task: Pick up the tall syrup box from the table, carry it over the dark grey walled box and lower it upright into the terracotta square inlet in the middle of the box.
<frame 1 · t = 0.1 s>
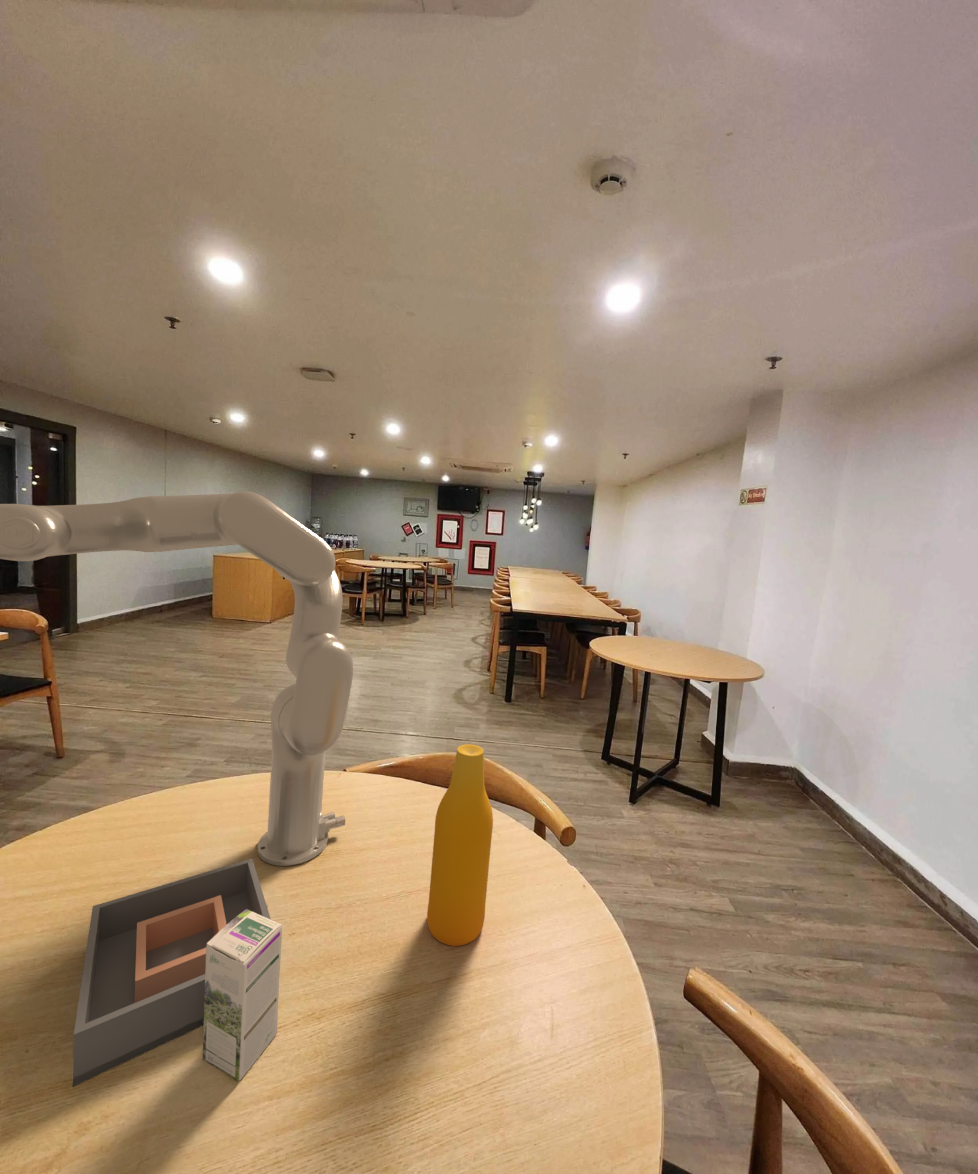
beer bottle: (455, 924, 73), on the table
walled box: (181, 967, 62), on the table
syrup box: (240, 1049, 53), on the table
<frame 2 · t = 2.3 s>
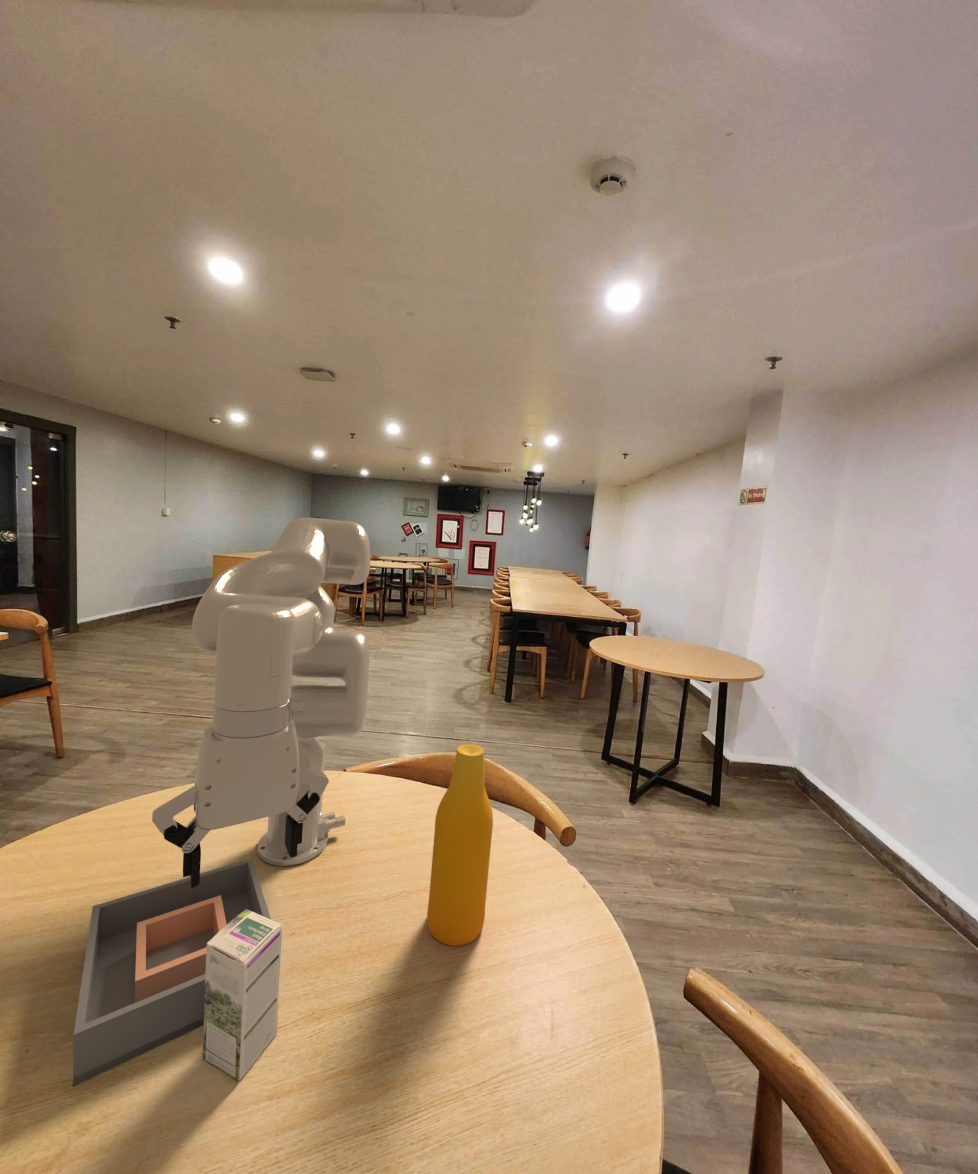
hand: (245, 864, 51), 23 cm above the table, tool pointing down, fingers open, 9 cm apart
nothing on the table moved.
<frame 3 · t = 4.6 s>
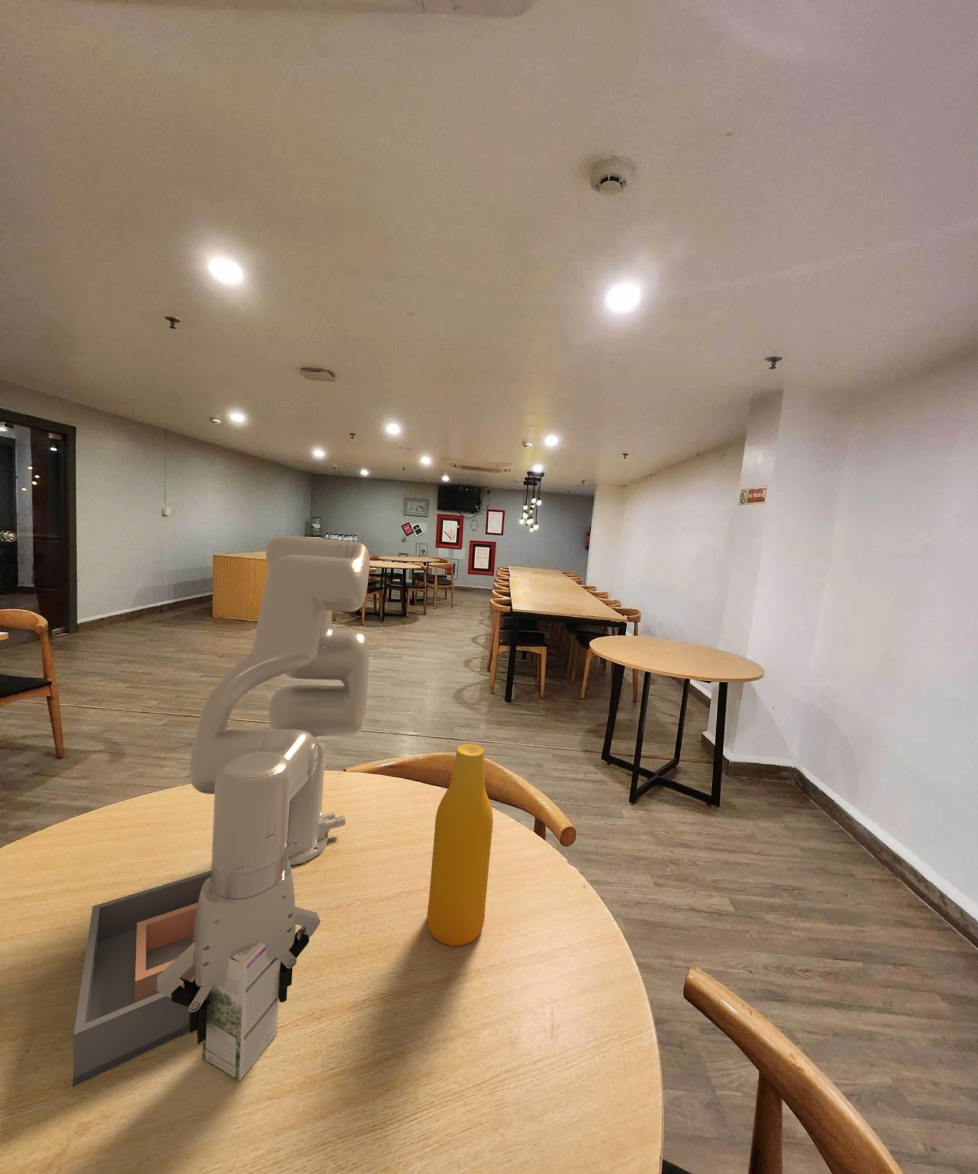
hand: (242, 1010, 52), 5 cm above the table, tool pointing down, fingers closed on syrup box, 7 cm apart
syrup box: (240, 1049, 53), on the table, touching gripper
everything else where it was.
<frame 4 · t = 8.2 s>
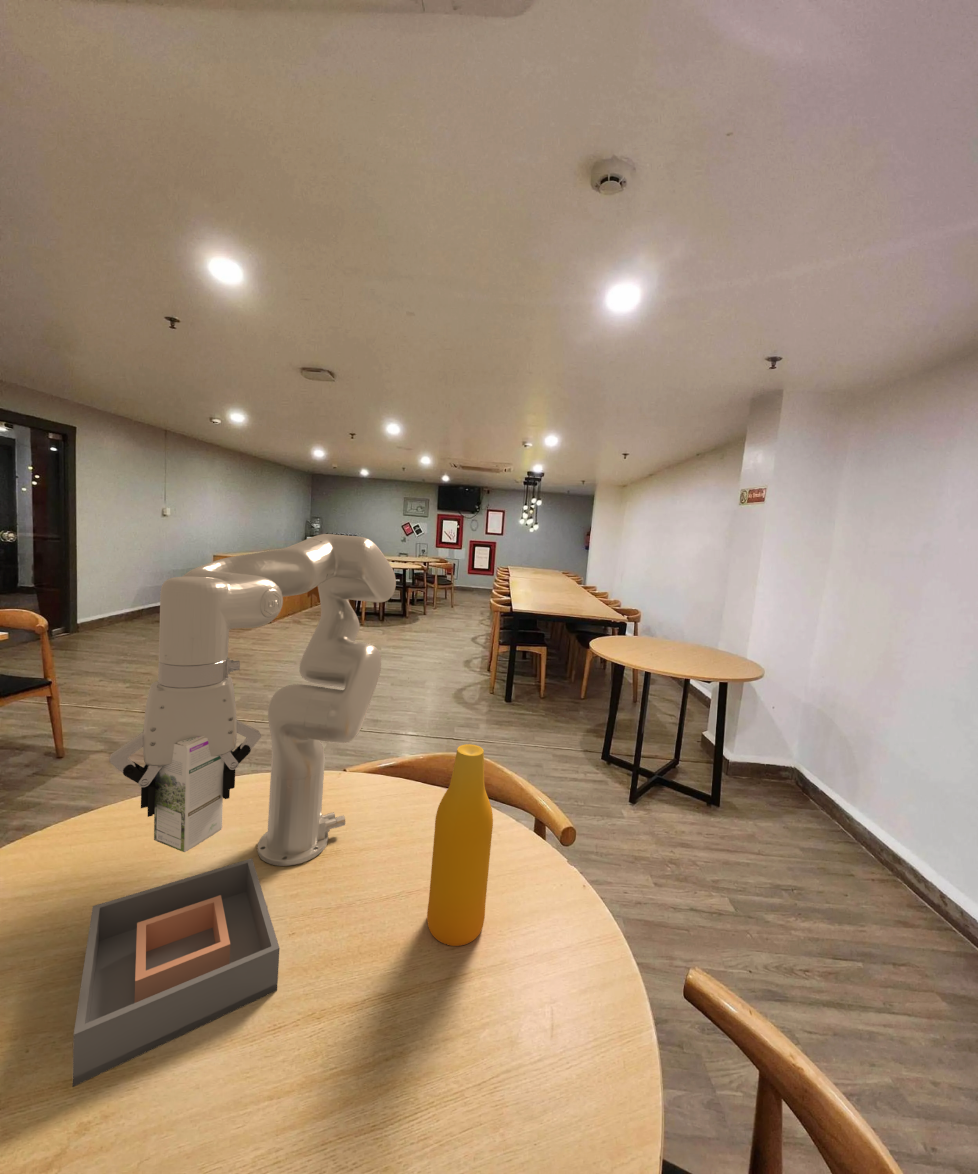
hand: (189, 801, 60), 24 cm above the table, tool pointing down, fingers closed on syrup box, 7 cm apart
syrup box: (188, 837, 60), point 19 cm above the table, touching gripper
everything else where it was.
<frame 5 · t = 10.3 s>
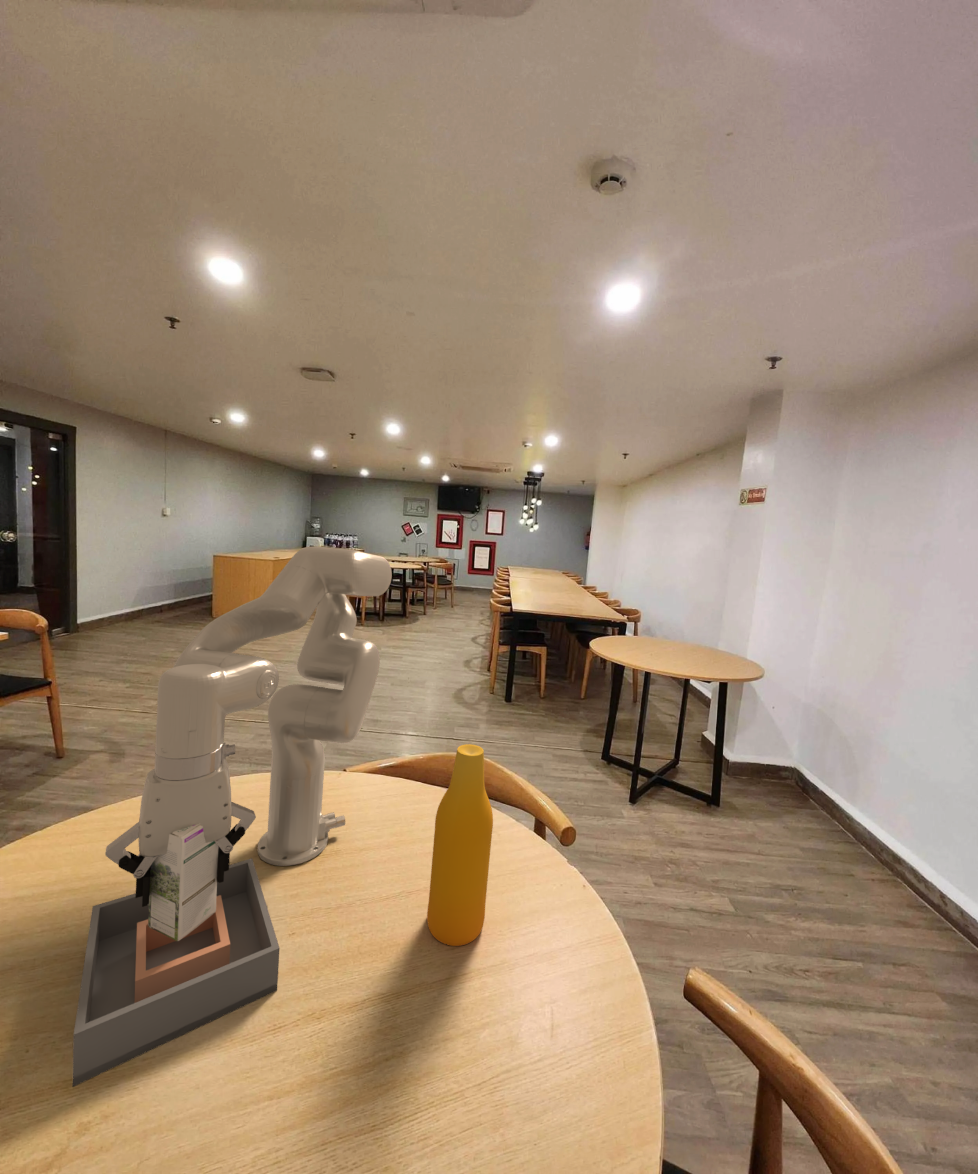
hand: (183, 886, 61), 12 cm above the table, tool pointing down, fingers closed on syrup box, 7 cm apart
syrup box: (182, 921, 61), point 7 cm above the table, touching gripper
everything else where it was.
when the fingers open (7 cm above the table, at t = 11.9 s): syrup box drops 1 cm, resting on walled box.
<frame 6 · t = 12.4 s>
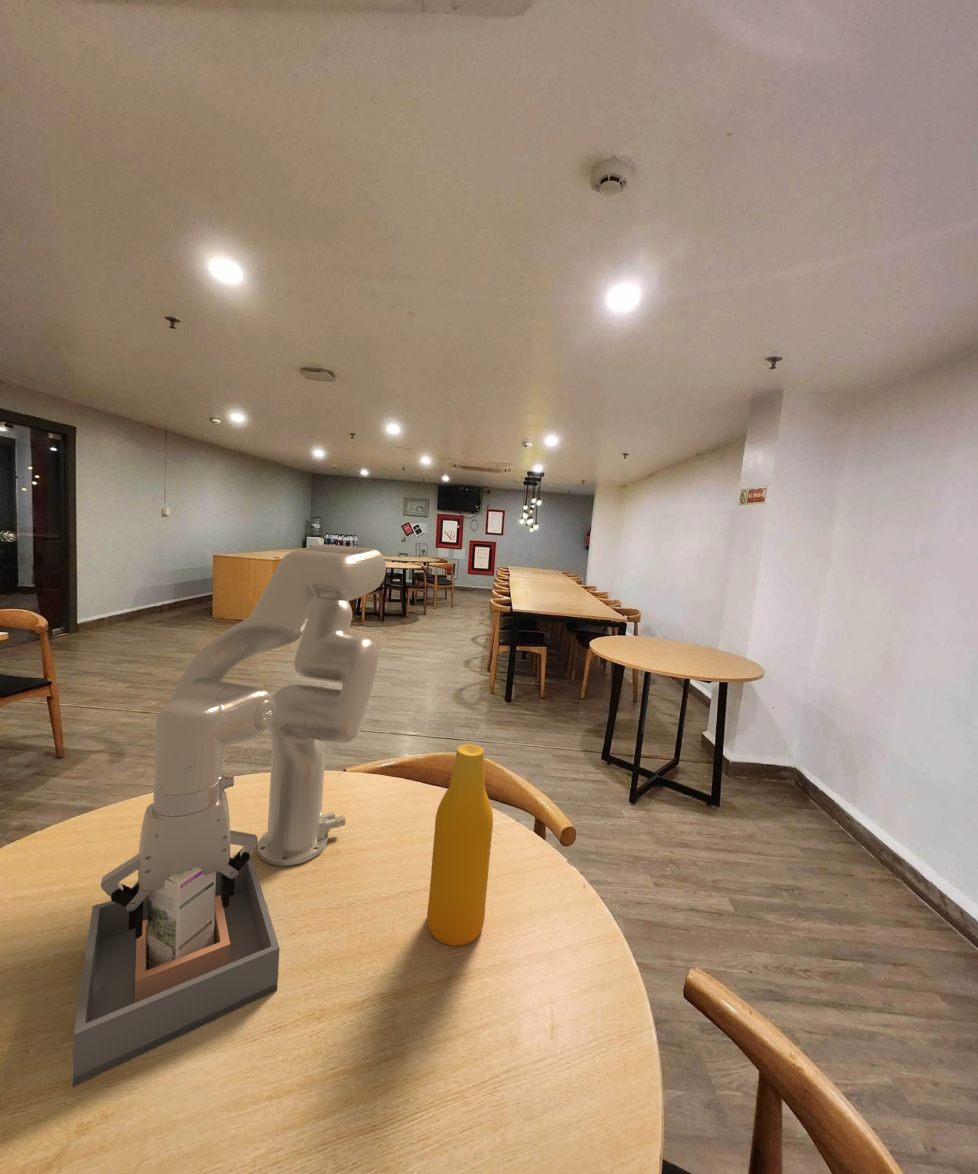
hand: (183, 915, 61), 8 cm above the table, tool pointing down, fingers open, 9 cm apart
syrup box: (180, 962, 62), point 1 cm above the table, touching walled box
everything else where it was.
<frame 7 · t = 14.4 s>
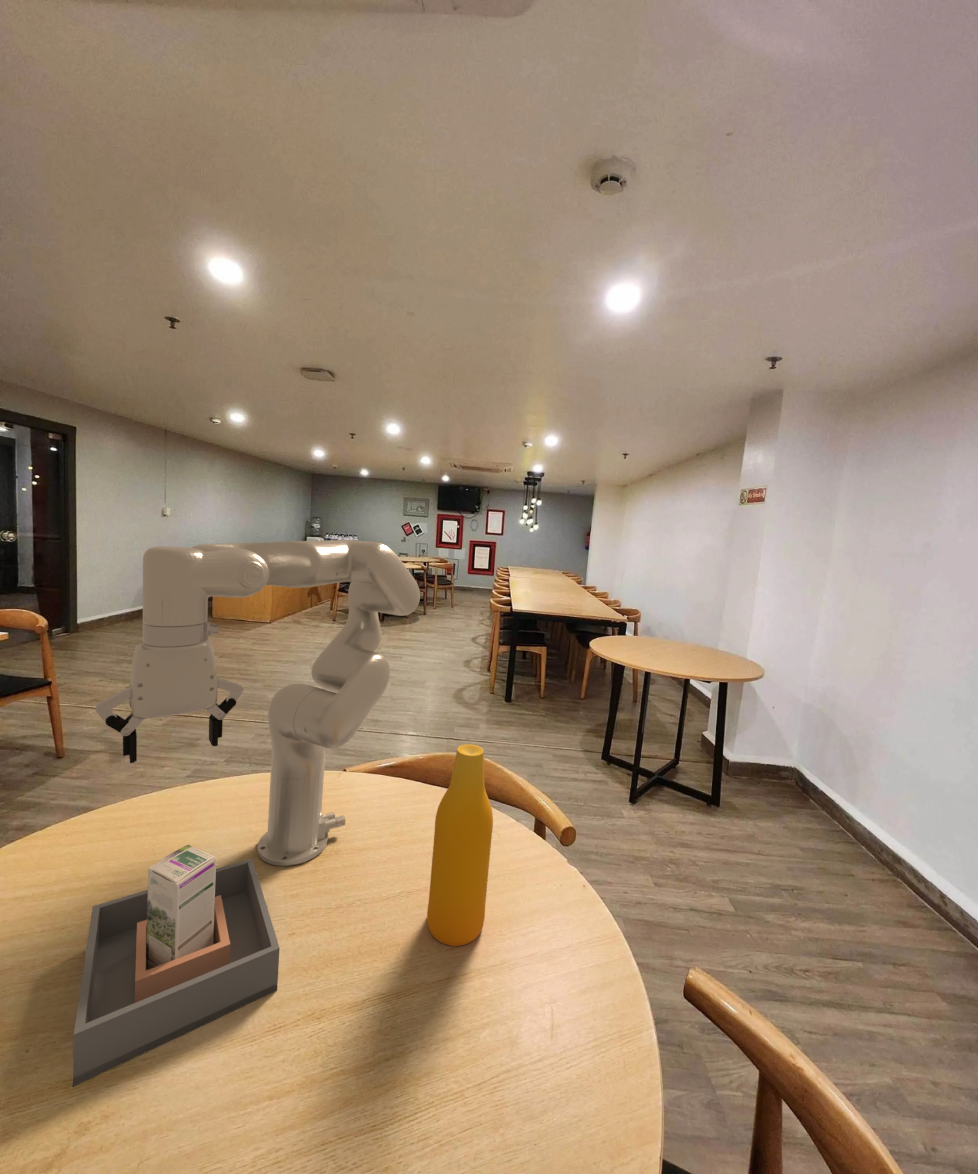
hand: (174, 750, 66), 27 cm above the table, tool pointing down, fingers open, 9 cm apart
nothing on the table moved.
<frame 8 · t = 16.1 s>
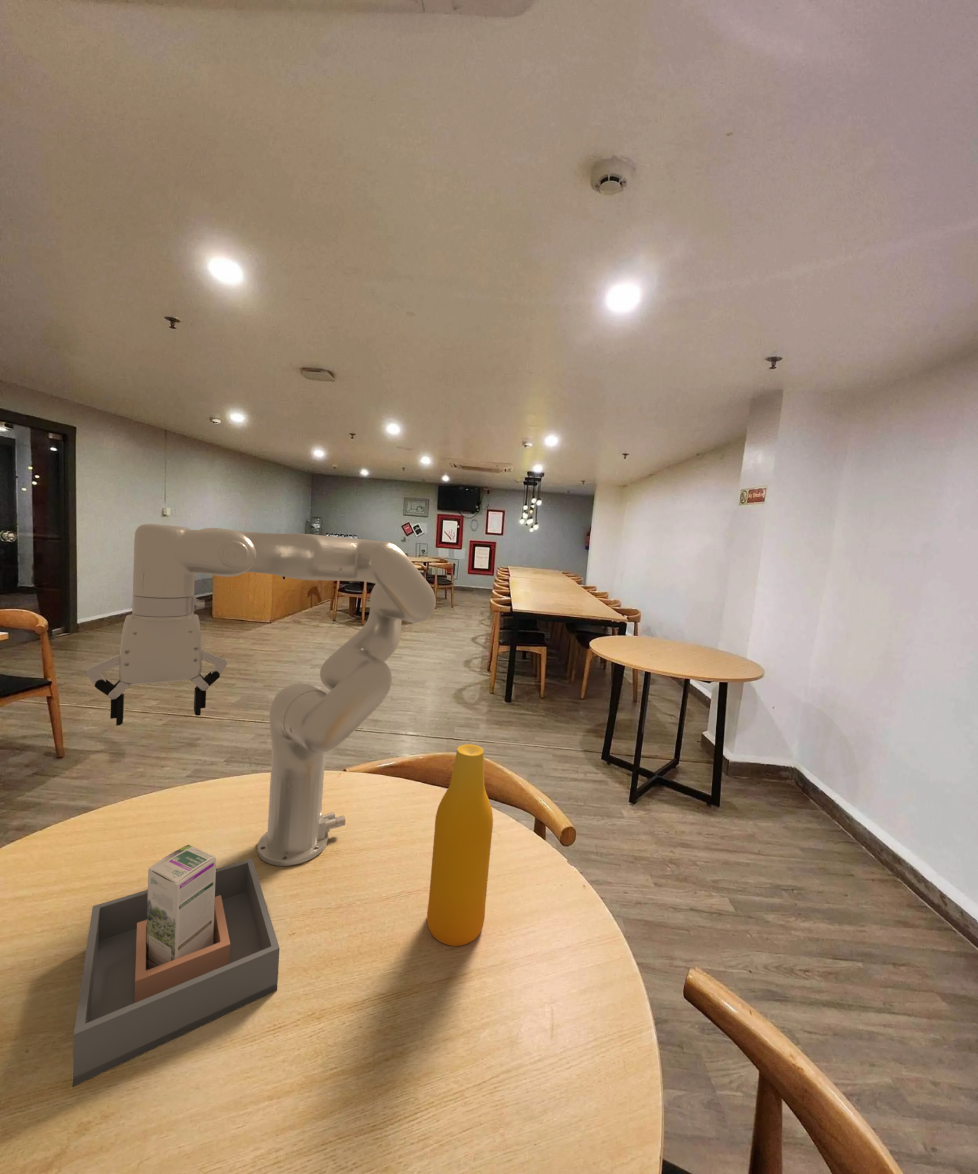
hand: (160, 717, 70), 30 cm above the table, tool pointing down, fingers open, 9 cm apart
nothing on the table moved.
at the end: syrup box 0.2 cm off-centre on the walled box, point 0.8 cm above the walled box's base; syrup box tilted 0°; the gripper is holding nothing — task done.
